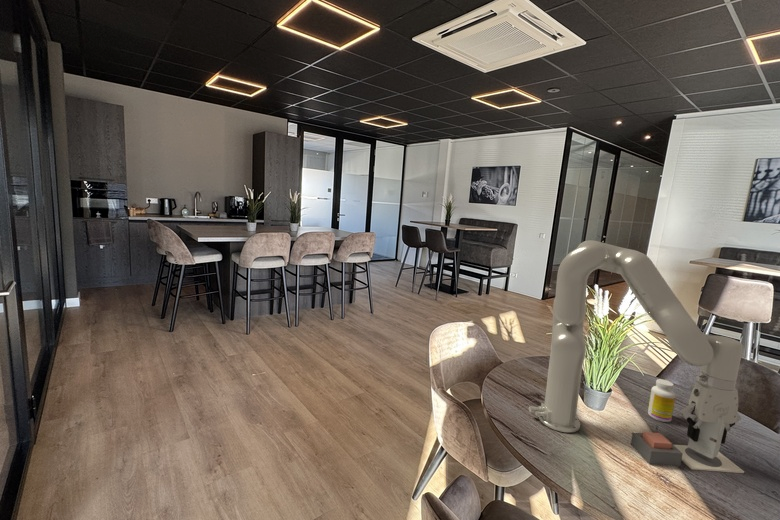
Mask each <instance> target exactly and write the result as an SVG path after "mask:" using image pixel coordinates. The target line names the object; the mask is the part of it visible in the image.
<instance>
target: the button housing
mask: <svg viewBox="0 0 780 520" xmlns="http://www.w3.org/2000/svg"><path fill="white" fill-rule="evenodd" d="M642 437H643V432H632V435H631V439H630V440H631V441H630V446H631V447H632V448H633V449H634V450H635V451H636V452H637V453H638V454H639V455H640V456H641V458H643V460H644V461H645V462H646V463H648V465H655V466H668V467H681V466H682V454H683V453H682V452H680V451H679V450H678V449H677V448H676V447H675V446H674V445H675V444H673V443H672V447H671V449H658V448H652V447H651V446H650V445H649V444H648V443H647V442H646V441H645V440H644V439H643V438H642Z"/></svg>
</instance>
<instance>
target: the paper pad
mask: <svg viewBox="0 0 780 520" xmlns="http://www.w3.org/2000/svg"><path fill="white" fill-rule="evenodd" d="M673 445H674V446H675V447H676V448H677V449H678V450H679V451H680V452H682V453H683V454H682V460H681V462H683V463H684V464H685V465H686V466H687V467H688V469H690V470H693V471H694V470H696V471H707V472H708V471H709V472H724V473H737V474H744V473H745V471H744V470H743V469H742V468H741V467H739V466H738V465H736V464H735V463H734V462H733V461H731V460H730V458H728V457H727V456H725V455H724V454H723V453H721V452H720V451H719V453H718V455H717V456H716V457H714V458H713V459H711V458H709V457H707V456H705V455H703V454H701V453H699V452H697V451H695V450H693V449H691V448H689V447H688V445H686V444H684V445H683V444H673Z"/></svg>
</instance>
